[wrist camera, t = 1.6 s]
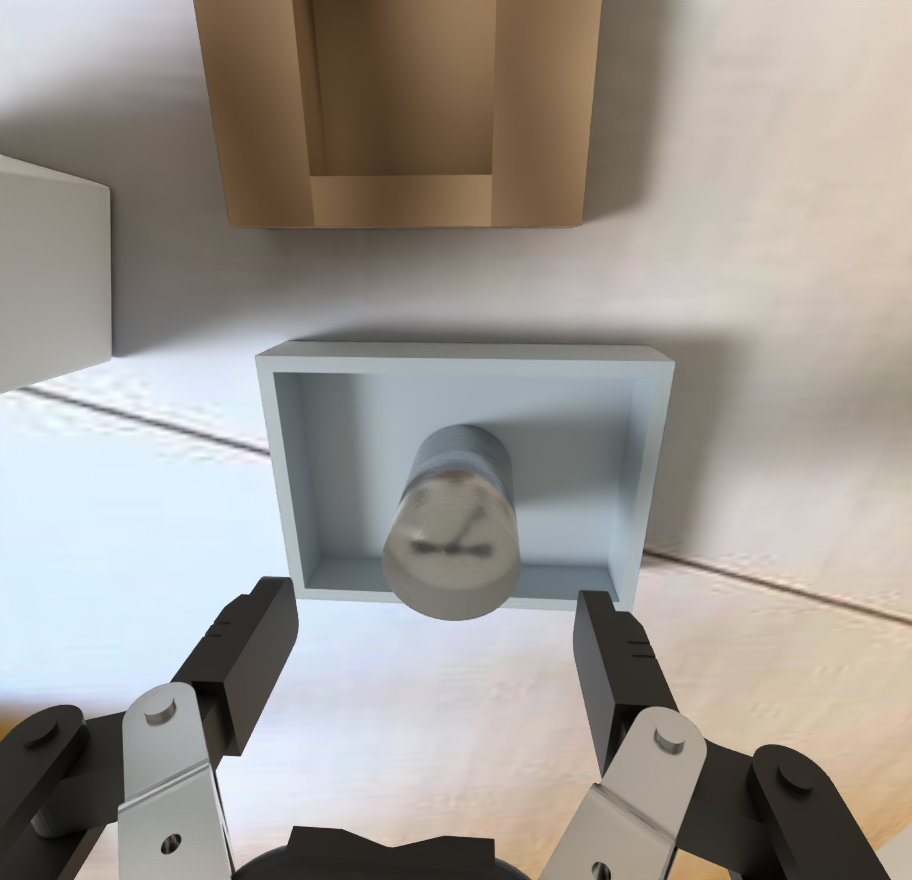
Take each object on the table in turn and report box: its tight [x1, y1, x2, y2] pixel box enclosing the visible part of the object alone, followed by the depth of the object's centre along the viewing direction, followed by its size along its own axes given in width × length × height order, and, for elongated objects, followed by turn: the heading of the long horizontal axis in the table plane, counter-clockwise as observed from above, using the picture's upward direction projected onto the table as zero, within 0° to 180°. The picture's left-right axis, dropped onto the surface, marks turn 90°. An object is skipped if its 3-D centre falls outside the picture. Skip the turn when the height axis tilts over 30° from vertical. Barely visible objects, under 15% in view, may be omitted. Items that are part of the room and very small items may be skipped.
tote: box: [255, 341, 676, 614], centre depth 21 cm, size 15×11×3 cm
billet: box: [382, 424, 521, 621], centre depth 18 cm, size 4×4×7 cm
